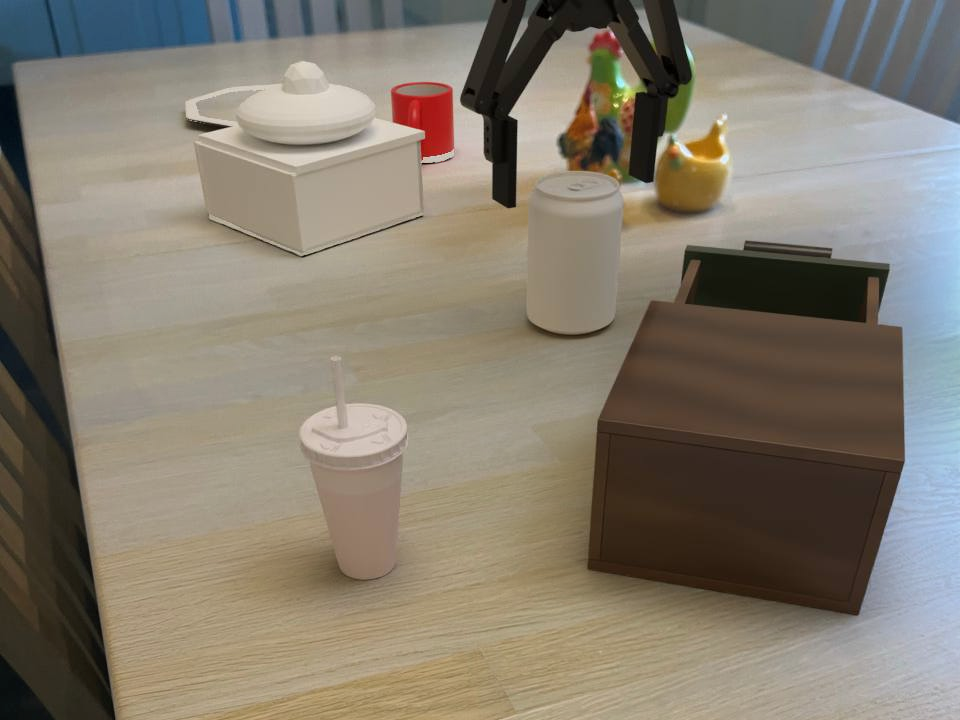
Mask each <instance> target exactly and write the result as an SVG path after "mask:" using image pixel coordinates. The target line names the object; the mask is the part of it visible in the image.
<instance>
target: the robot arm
mask: <svg viewBox="0 0 960 720" xmlns="http://www.w3.org/2000/svg"><path fill="white" fill-rule="evenodd" d="M528 1H529V0H494V3H493V6H492V9H491V12H490V14H489V17H488V20H487V23H486V25H485V28H484V31H483V33H482V35H481V39H480V41H479V45H478V47H477V50H476V53H475V55H474V58H473V60H472V62H471V63H472V64H471V66H470V69H469V71H468V75H467V77H466V80H465V83H464V85H463V87H462V91H461V94H460V97H459V102H460V104H461V107H463V108H465V109H467V110H470V111H472V112H473V113H475V114H477V115H481V117H482V119H483V156H484V158H485V160H486V161H488V162H489V163H491V164H492V165H491V170H492V171H491V174H492V175H491V181H492V182H491V189H492V190H491V200H493V201H494V202H496V203H498V204H500V205H501V206H503V207H505V208H506V209H513V208H516V207H517V179H518V131H519V130H518V126H519V125H518V124H519V123H518V121H519V120H518V119H516V118H515V117H512V116H511V115H510V113H511V112H512V110H513V109H514V107H515V105H516V104H517V102H518V101H519V99H520V98H521V96H522V94H523V93H524V91H525V89H527V87H528V85H529V83H530V82H531V80H532V78H533V77H534V75H535V73H536V72H537V70H538V69H539V67H540V66H541V64H542V63H543V61H544V59H545V57H546V56H547V55H548V53H549V51H550V50H551V48H552V46H553V45H554V43H556V42H557V41H560V39H561V38H562V37H563V35H564V34H565V32H566V31H567V32H568V31H569V32H571V33H576V32H577V33H579V32H583V31H585V30H587V29H590V28H593V29H598V30H603V29H608V28H609V29H610V30H611V33H612V34H613V36H614V37H615V39H616V41H617V43H618V44H619V46H620V48H621V49H622V51H623V53H624V55H625V56H626V58H627V60H628V61H629V63H630V65H631V66H632V68H633V69H634V71H635V73H636V75H637V76H638V78H639V80H640V82H641V83H642V85H643V87H644V88H645V90H646V92H645V91H638V92H635V95H634V104H633V105H634V107H633V116H632V117H633V118H632V130H631V142H630V150H629V151H630V152H629V162H628V163H629V165H628V176H629V177H632V178H634V179H636V180H638V181H639V182H643V183H645V184H651V183H654V181H655V180H654V179H655V172H656V171H655V170H656V160H657V151H658V141H659V138H661V137H663V136H664V133H665V131H666V126H667V125H666V122H667V115H668V107H669V99H674V98H675V97H677V95H678V94H679V91H680V86H686V85H689V83H690V82H691V80H692V77H693V73H692V67H691V64H690V60H689V56H688V53H687V49H686V45H685V41H684V37H683V33H682V28H681V25H680V21H679V16H678V12H677V9H676V5H675V1H674V0H642V1H641V2H642V4H643V8H644V13H645V16H646V18H647V22H648V26H649V29H650V30H649V31H650V33H651V37H652V41H653V44H654V46H653V44H652V43H651V41H650V39H649V38H648V36H647V35H646V33H645V30H644V29H643V27H642V25H641V24H640V22H639V20H640V16H639V15H638V12H637V11H636V9H635V7H634V5H633V3H632V2H631V0H538V2H537V4H536V6H535V7H534V9H533V10H532V12H531V14H530V15H529V17H528V19H527V26H526V29H525V30H524V32H523V33H522V35H521V37H520V38H519V39H518V41H517V43H516V44H515V46H514V48H513V49H512V46H513V43H514V41H515V39H516V35H517V34H518V33H517V32H518V30H519V28H520V25H521V22H522V20H523V17H524V14H525V11H526V6H527V2H528ZM654 47H655V48H654ZM511 49H512V51H511ZM510 51H511V53H510Z"/></svg>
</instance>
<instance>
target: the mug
mask: <svg viewBox="0 0 960 720" xmlns="http://www.w3.org/2000/svg"><path fill="white" fill-rule="evenodd" d="M390 101H391V103H390V104H391V117H392V118H391V119H392V123H396V124H400V125H403V126H407V127H411V128H415V129H418V130H422V131H425V139H422V140H420V142H421V161H422V160H423V157H430V156H437V155H442V154H445V153H448V152H451V151H452V150H453V149H454V150H455V126H454V125H455V124H454V123H455V122H454V121H455V119H454V90H453V86H451V85H449V84H446V83H442V82H437V81H435V82H434V81H415V82H414V81H413V82H407V83H401V84H398V85H395V86H394V87H392V88H391V89H390Z"/></svg>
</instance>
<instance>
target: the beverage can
mask: <svg viewBox="0 0 960 720" xmlns="http://www.w3.org/2000/svg"><path fill="white" fill-rule="evenodd" d="M624 203H625V200H624V197H623V194H622V193H621V190H620V182H619V181H618V180H617V179H616V178H615V177H613V176H612V175H609V174H605V173H602V172H596V171H588V170H564V171H556V172H551V173H547V174H544V175H542V176H540V177H538V178H537V179H536V180H535V181H534V188H533V189H532V192H531V193H530V194H529V198H528V204H527V206H528V207H527V209H528V210H527V258H526V259H527V262H526V317H527V319H528V320H529V321H530V322H531V323H532V324H533V325H535V326H537V327H539V328H541V329H543V330H545V331H547V332H550V333H553V334H558V335H567V336H568V335H569V336H570V335H571V336H574V335H584V334H590V333H593V332H596V331H598V330H601V329H603V328H606V327H607V326H608V325H610V324H611V323H612V322H613V321H614V319H615V317H616V312H617V311H616V309H617V299H618V298H617V296H618V286H619V285H618V283H619V269H620V259H621V258H620V257H621V245H622V242H621V241H622V233H623V218H624Z"/></svg>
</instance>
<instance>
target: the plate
mask: <svg viewBox="0 0 960 720" xmlns="http://www.w3.org/2000/svg"><path fill="white" fill-rule="evenodd" d="M280 85H282V83H273V84H257V85H256V84H255V85H242V86H232V87H226V88H222V89H219V90H216V91H213V92H210V93H207V94H203V95H200V96H197V97H193V98H190V99H187V100H186V101H185V102H184V110H185V118H186V120H187V119H188V120H187V121H189V120H192V121H197V122H201V123H200V124H202V123H205V124H204V125H208V124H210V125H209V126H214V125H215V126H216V127H219V128H229V127H233V126H237V125H239V124H238V122H235V121H228V120H221V119H214V118H207V117H204V116H200V115H199V113H198V111H199V110H198V109H197V106H196V102H198V101H200V100H204V99H208V98H212V97H213V96H214V97H216V96H217V95H218V96H219V95H221V94H225V93H229V92H234V91H235V92H238V91H246V90H247V91H249V90H253V91H256V90H264V89H268V88H272V87H276V86H280ZM215 126H214V127H215Z"/></svg>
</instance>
